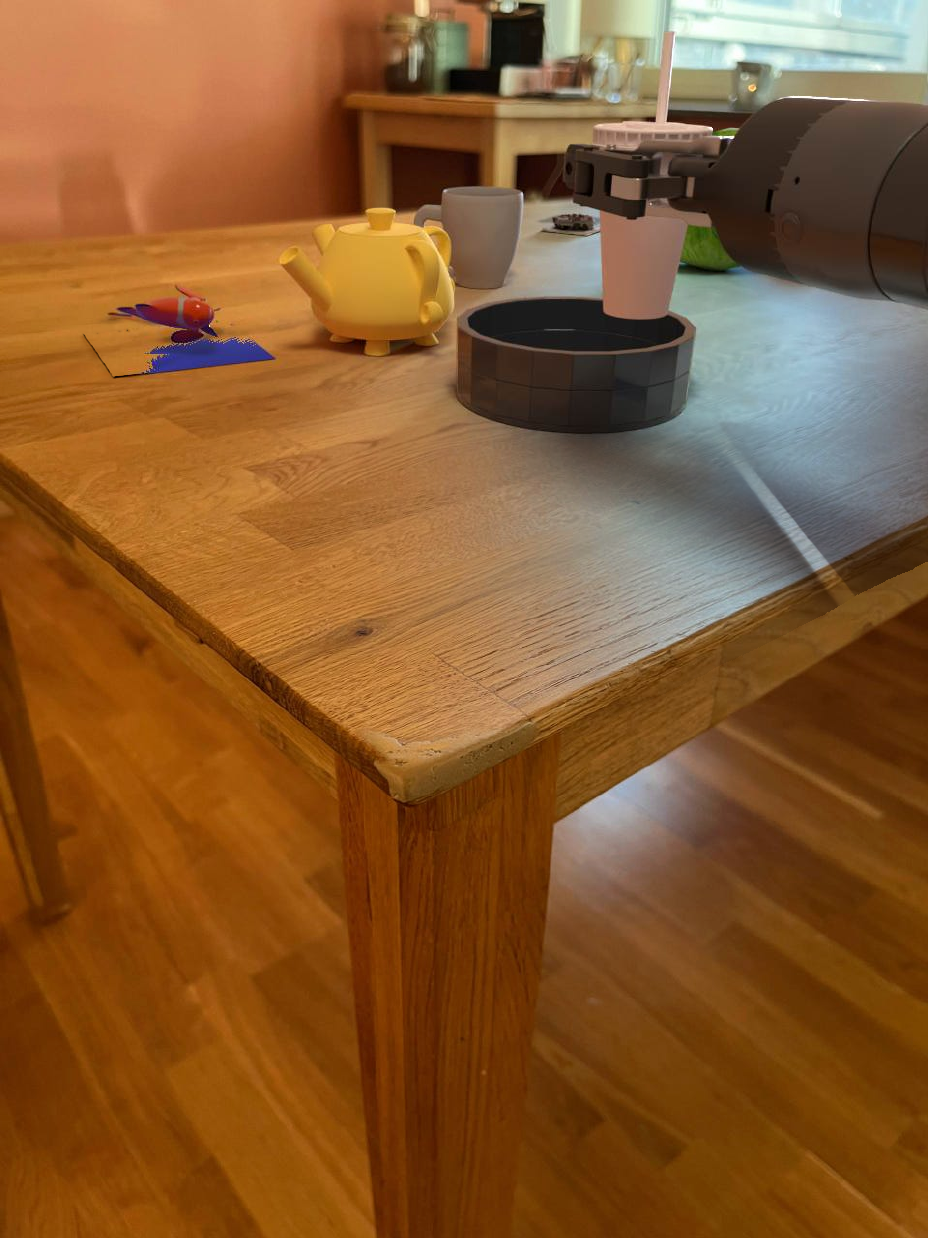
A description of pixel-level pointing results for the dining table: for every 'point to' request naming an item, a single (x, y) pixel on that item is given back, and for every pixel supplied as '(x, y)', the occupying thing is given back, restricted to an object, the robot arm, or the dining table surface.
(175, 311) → the fish
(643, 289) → the smoothie
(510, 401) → the pot
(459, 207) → the mug
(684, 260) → the lettuce
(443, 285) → the teapot
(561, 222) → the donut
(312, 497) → the dining table surface
